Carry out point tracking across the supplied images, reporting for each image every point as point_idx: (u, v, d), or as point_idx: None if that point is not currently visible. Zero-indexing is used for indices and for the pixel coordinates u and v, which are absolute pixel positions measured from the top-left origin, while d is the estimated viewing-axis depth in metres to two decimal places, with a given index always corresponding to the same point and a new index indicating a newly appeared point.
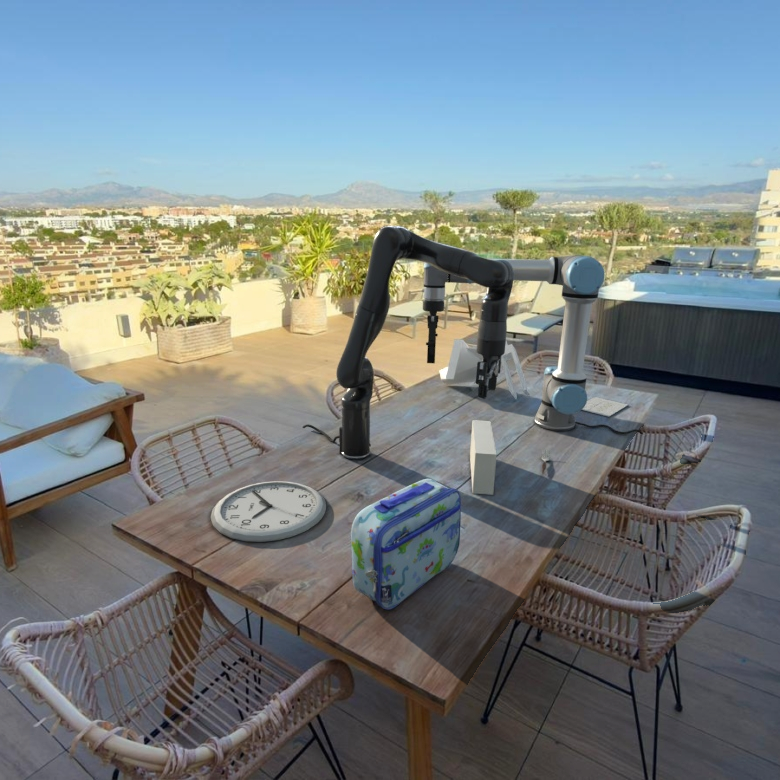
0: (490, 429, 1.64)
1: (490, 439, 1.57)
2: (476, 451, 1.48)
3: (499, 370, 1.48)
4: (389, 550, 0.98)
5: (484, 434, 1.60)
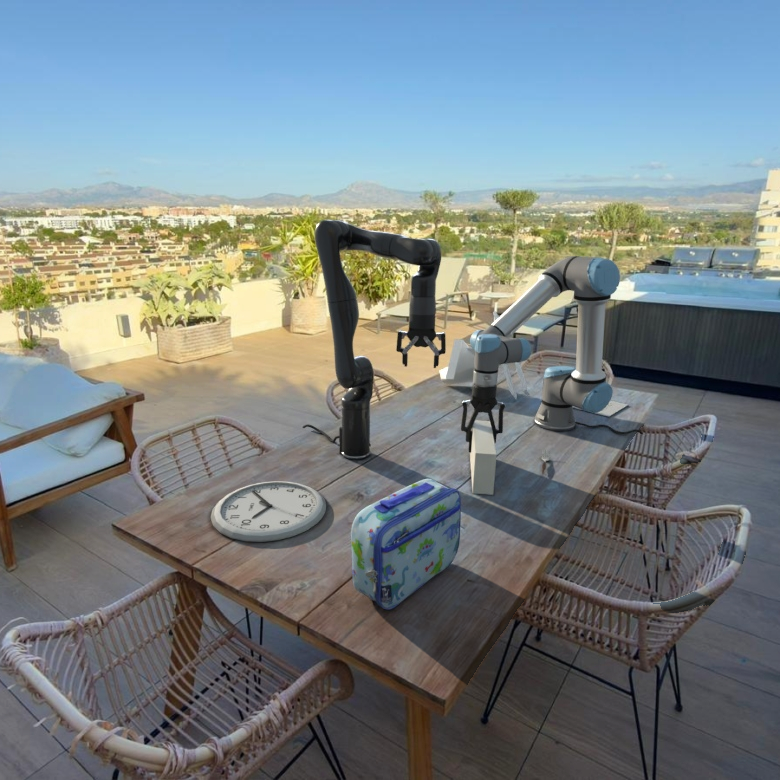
0: (490, 429, 1.64)
1: (490, 439, 1.57)
2: (476, 451, 1.48)
3: None
4: (389, 550, 0.98)
5: (484, 434, 1.60)
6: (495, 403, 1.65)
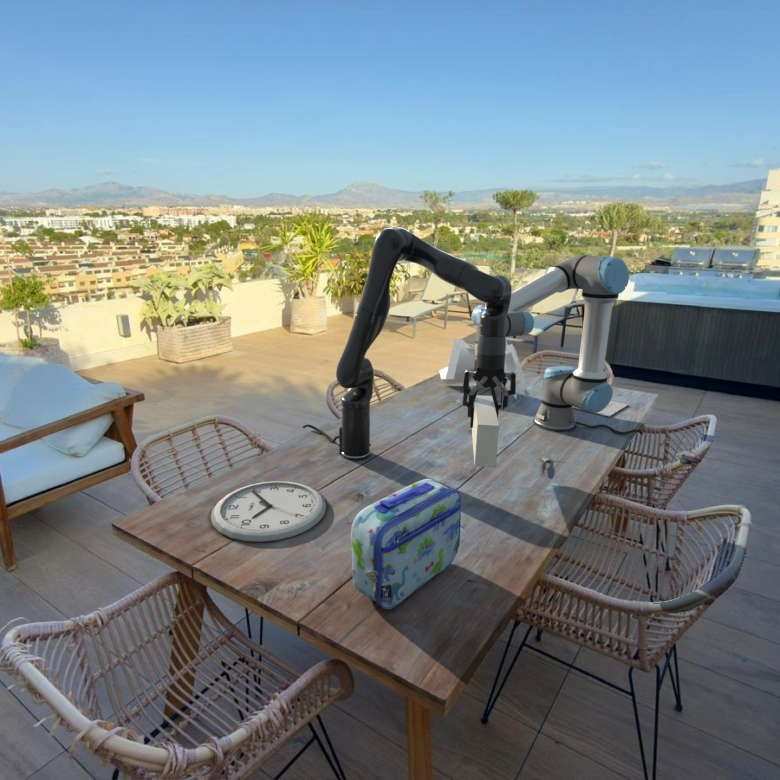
0: (492, 403, 1.62)
1: (492, 412, 1.54)
2: (478, 423, 1.45)
3: None
4: (389, 550, 0.98)
5: (487, 407, 1.58)
6: None
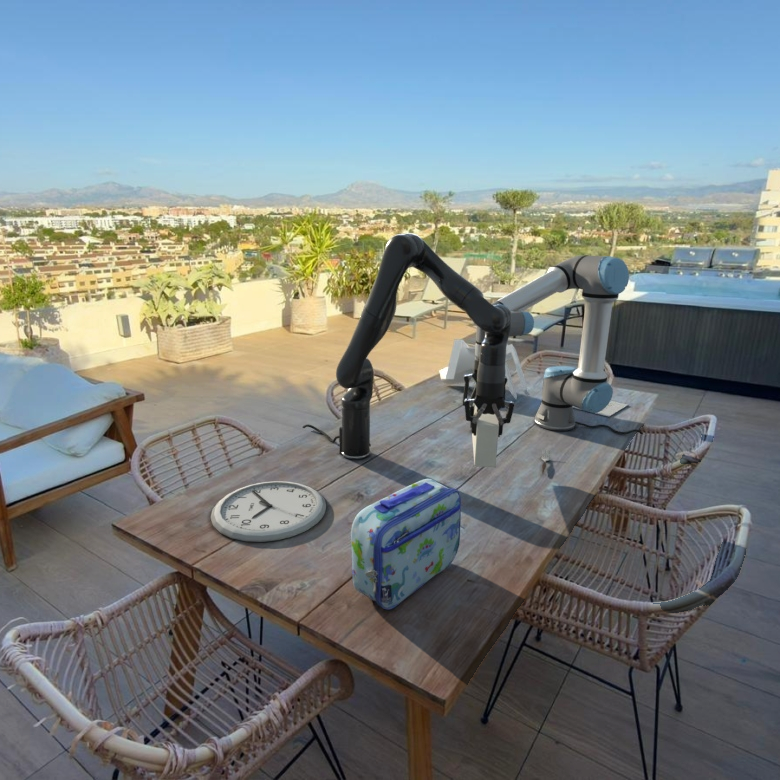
0: None
1: None
2: (478, 423, 1.45)
3: None
4: (389, 550, 0.98)
5: None
6: None
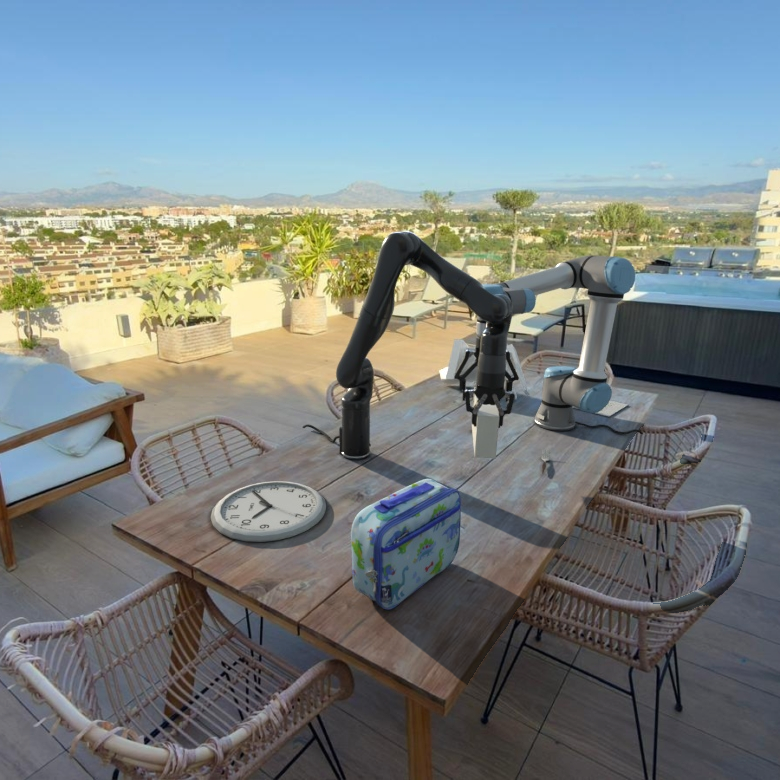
0: None
1: None
2: (478, 413, 1.45)
3: None
4: (389, 550, 0.98)
5: None
6: None
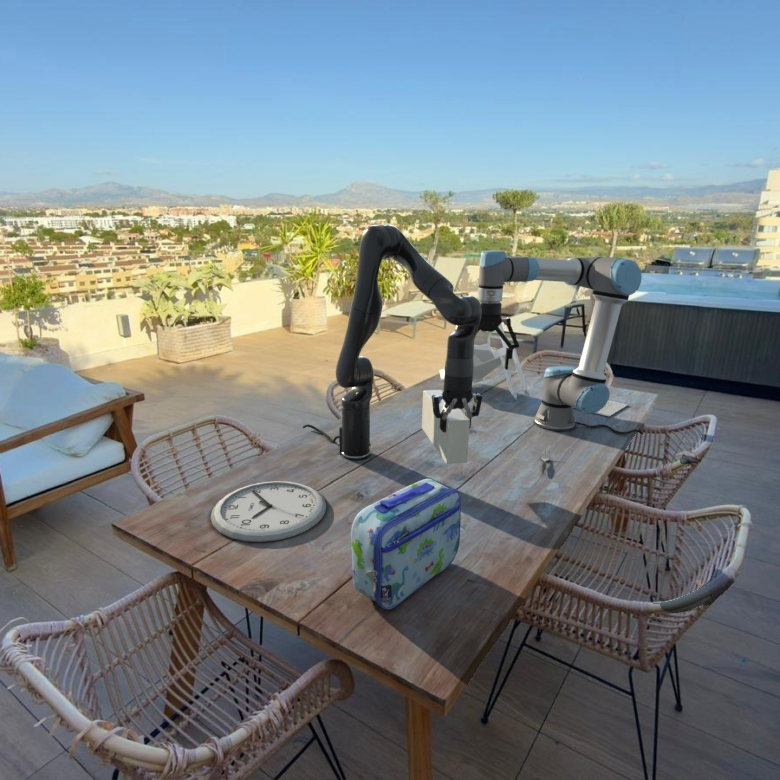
0: None
1: None
2: (449, 419, 1.41)
3: None
4: (389, 550, 0.98)
5: None
6: (500, 321, 1.63)
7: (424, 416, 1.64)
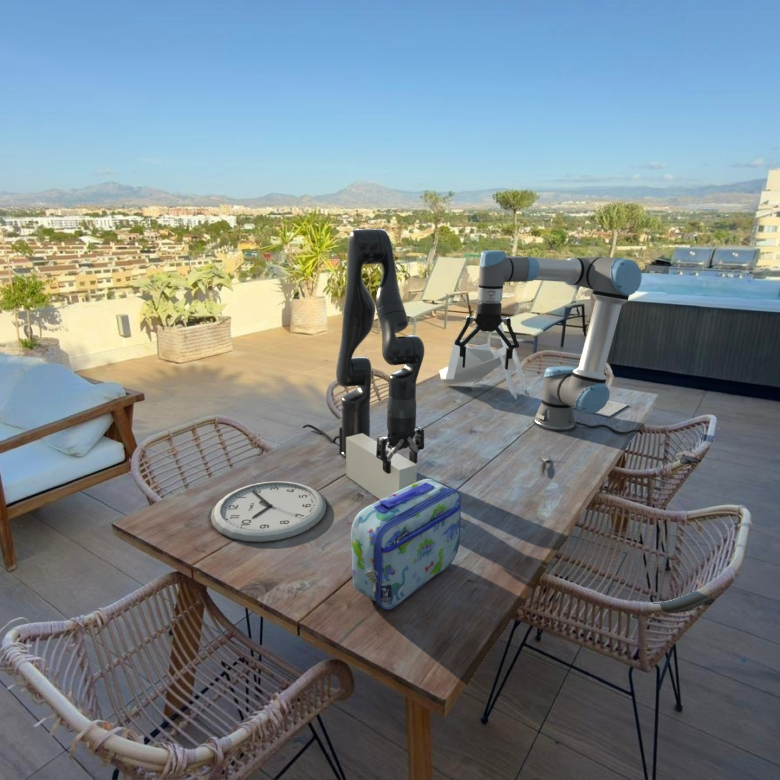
0: (375, 441, 1.53)
1: None
2: (397, 468, 1.37)
3: None
4: (389, 550, 0.98)
5: None
6: (500, 321, 1.63)
7: (350, 464, 1.56)
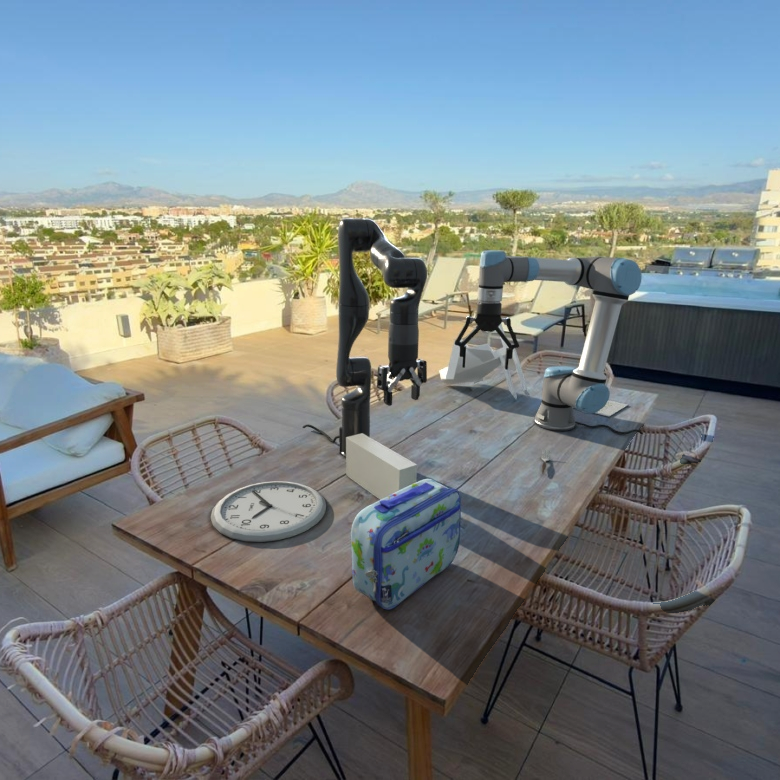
0: (375, 441, 1.53)
1: (390, 451, 1.47)
2: (397, 468, 1.37)
3: None
4: (389, 550, 0.98)
5: (378, 448, 1.49)
6: (500, 321, 1.63)
7: (350, 464, 1.56)
